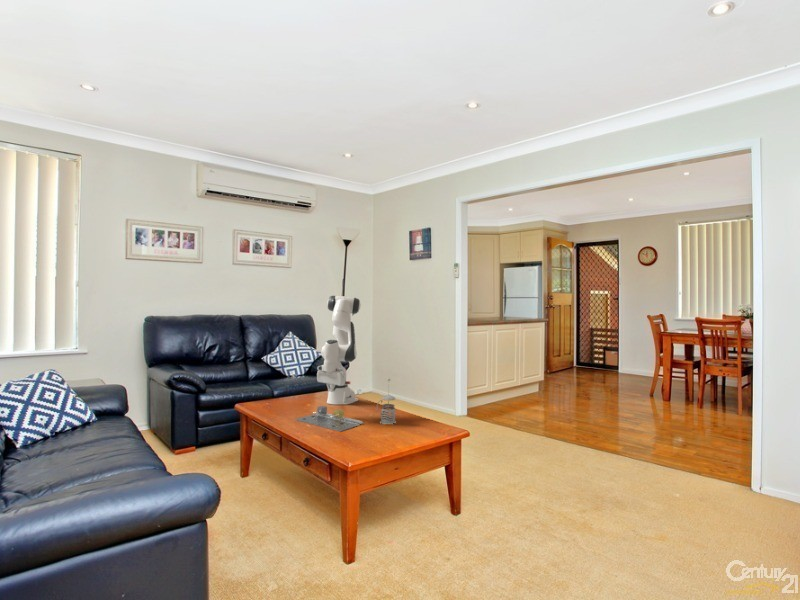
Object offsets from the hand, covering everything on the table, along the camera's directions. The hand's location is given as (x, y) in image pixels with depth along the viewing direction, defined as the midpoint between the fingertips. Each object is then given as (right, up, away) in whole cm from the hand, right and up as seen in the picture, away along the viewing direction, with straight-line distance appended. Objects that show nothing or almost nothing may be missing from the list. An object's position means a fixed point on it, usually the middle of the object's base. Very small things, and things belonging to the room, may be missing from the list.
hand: (330, 391), depth 271 cm
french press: (+33, -16, -9) cm, 38 cm away
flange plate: (-1, -15, -12) cm, 19 cm away
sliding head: (+4, -14, -6) cm, 15 cm away
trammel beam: (+4, -15, -6) cm, 17 cm away
